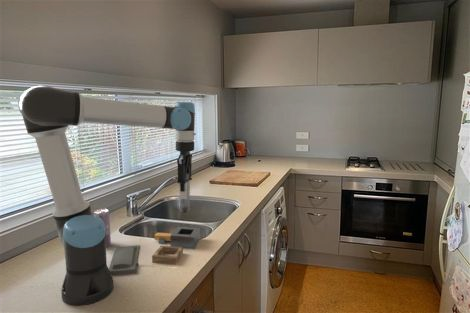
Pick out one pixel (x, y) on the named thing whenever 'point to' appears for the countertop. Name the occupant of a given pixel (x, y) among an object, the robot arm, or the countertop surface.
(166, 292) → the countertop surface
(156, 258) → the square wooden tray
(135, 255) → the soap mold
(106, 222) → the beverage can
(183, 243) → the socket block
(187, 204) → the gray rectangular bar
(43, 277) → the countertop surface
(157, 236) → the block
